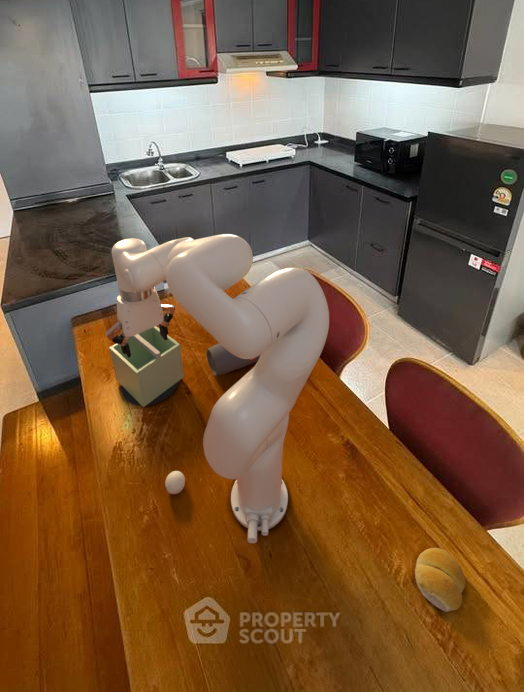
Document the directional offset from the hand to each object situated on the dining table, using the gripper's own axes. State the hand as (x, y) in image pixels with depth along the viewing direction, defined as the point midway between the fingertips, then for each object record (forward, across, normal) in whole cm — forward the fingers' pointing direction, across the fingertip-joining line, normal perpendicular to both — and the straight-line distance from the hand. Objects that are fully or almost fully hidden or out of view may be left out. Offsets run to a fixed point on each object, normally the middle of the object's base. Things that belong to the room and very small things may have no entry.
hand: (146, 345), depth 97 cm
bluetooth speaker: (+22, -29, +2) cm, 36 cm away
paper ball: (+20, +6, +23) cm, 31 cm away
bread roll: (+23, -26, +69) cm, 77 cm away
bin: (+20, -2, -9) cm, 22 cm away
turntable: (+22, -2, -9) cm, 24 cm away
